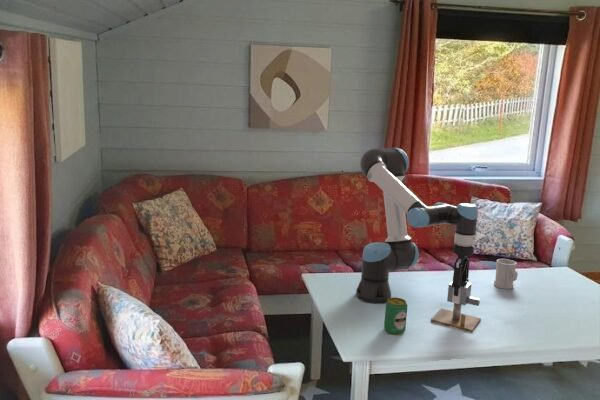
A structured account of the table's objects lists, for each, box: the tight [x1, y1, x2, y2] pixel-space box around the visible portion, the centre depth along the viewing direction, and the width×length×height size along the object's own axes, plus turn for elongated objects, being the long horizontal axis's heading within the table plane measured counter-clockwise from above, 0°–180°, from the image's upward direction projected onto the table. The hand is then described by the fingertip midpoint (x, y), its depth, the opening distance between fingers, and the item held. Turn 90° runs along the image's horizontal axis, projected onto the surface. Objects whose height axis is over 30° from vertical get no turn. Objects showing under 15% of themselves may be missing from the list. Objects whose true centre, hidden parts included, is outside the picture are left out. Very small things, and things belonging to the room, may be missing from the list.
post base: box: [430, 303, 482, 333], centre depth 217 cm, size 16×13×9 cm
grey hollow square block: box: [446, 280, 481, 307], centre depth 214 cm, size 11×7×7 cm, turn 58°
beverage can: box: [383, 297, 408, 336], centre depth 206 cm, size 8×8×12 cm
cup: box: [493, 258, 519, 290], centre depth 257 cm, size 10×9×12 cm
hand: (458, 299), depth 216 cm, fingers closed on grey hollow square block, 7 cm apart
